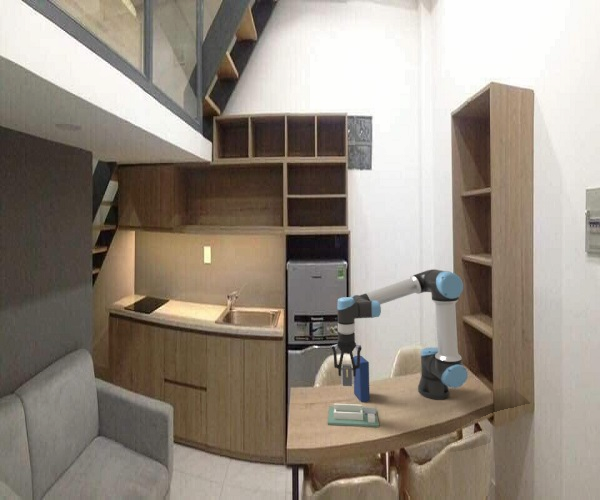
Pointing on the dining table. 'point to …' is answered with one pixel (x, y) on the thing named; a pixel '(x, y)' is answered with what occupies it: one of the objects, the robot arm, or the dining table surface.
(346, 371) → the grey upright block
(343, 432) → the dining table surface
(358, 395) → the tall blue block
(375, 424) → the header board
